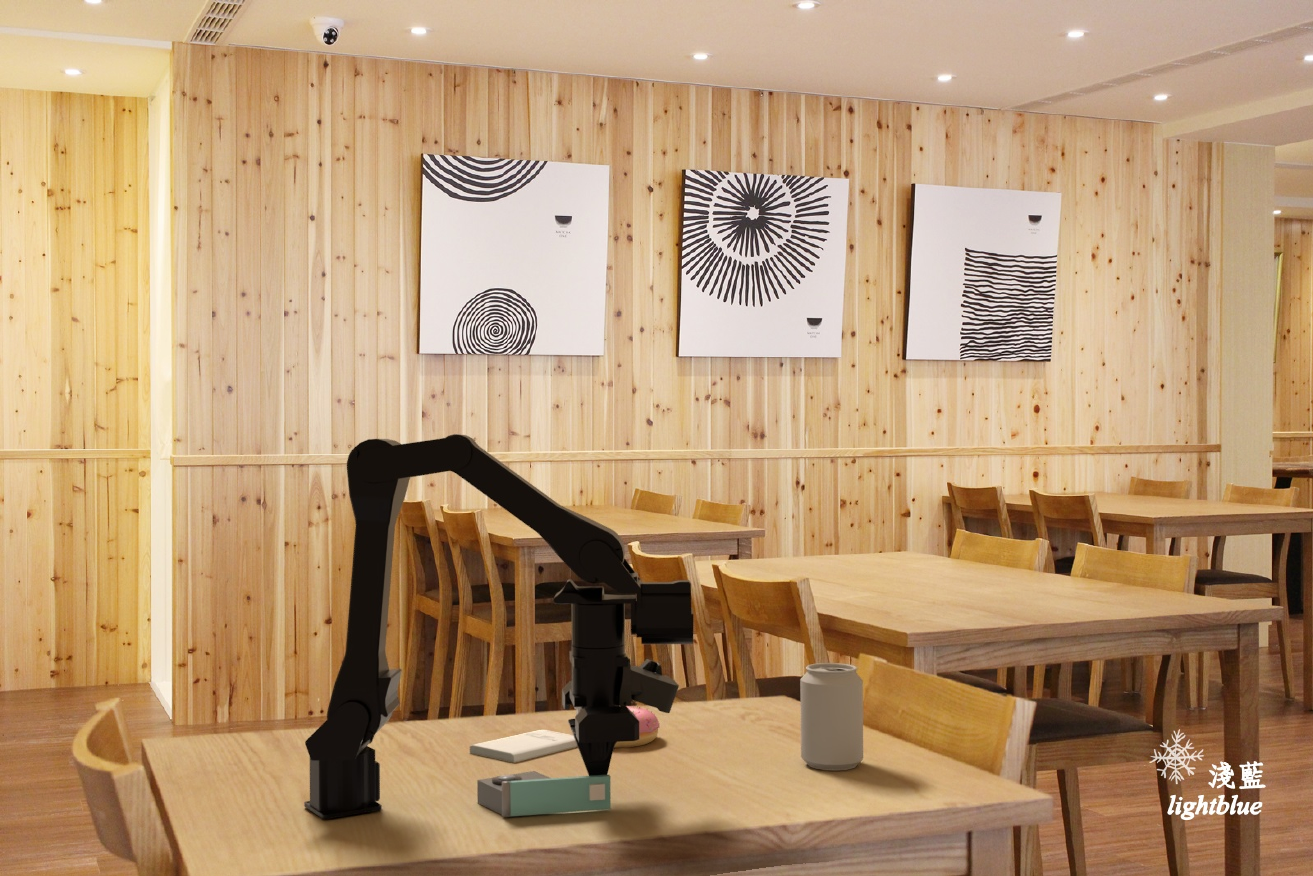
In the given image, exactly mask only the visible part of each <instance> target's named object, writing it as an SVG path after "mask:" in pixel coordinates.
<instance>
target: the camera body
mask: <svg viewBox="0 0 1313 876" xmlns="http://www.w3.org/2000/svg"><path fill="white" fill-rule="evenodd" d="M549 778H551V777H550V776H548V775H545V774H542V773H540V772H538V771H535V770H532V771H531V770H530V771H525V772H519V773H511V774H504V775H502V774H501V775H497V776H495V777H494V776H493V777H488V778H480V779H477V780H476V782H477V787H476V788H477V791H476V792H477V804H479V805H480V806H482V807H485V808H487V809H489V810H491V811H492V812H495V813H497V814H499V815H500V816H502V782H503V781H518V780H533V779H549Z"/></svg>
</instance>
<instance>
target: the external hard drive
mask: <svg viewBox="0 0 1313 876" xmlns="http://www.w3.org/2000/svg"><path fill="white" fill-rule="evenodd" d="M575 748H578V746H577V744H576V741H575V738H574V736H573V734H568V733H563V732H559V731H553V730H549V729H538V730H533V731H528V732H524V733H520V734H515V735H511V736H506V737H502V738H497V739H492V740H488V741H483V742H479V743H475V744H470V745H469V754H471V755H476V756H481V757H486V758H491V759H496V760H499V761H504V762H506V763H507V762H508V763H513V764H514V763H515V764H516V763H519V762H523V761H526V760H531V759H535V758H538V757H543V756H546V755H551V754H554V753H558V752H562V751H566V750H571V749H575Z"/></svg>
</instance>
